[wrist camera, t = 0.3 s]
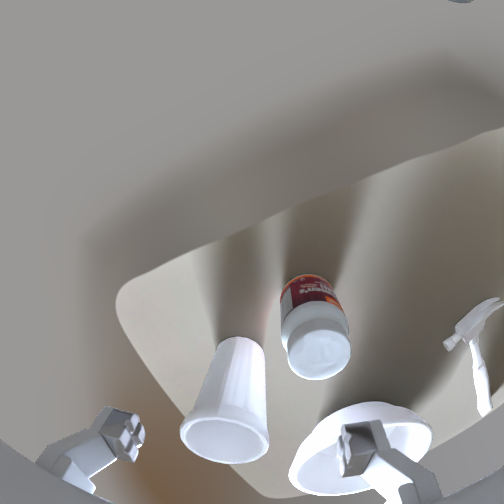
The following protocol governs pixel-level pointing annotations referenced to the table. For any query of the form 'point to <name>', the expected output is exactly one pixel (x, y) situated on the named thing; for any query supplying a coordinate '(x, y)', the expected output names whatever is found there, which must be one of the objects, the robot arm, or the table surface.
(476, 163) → the table surface
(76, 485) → the robot arm
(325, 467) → the bowl
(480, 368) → the hammer
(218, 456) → the cup
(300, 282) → the pill bottle
